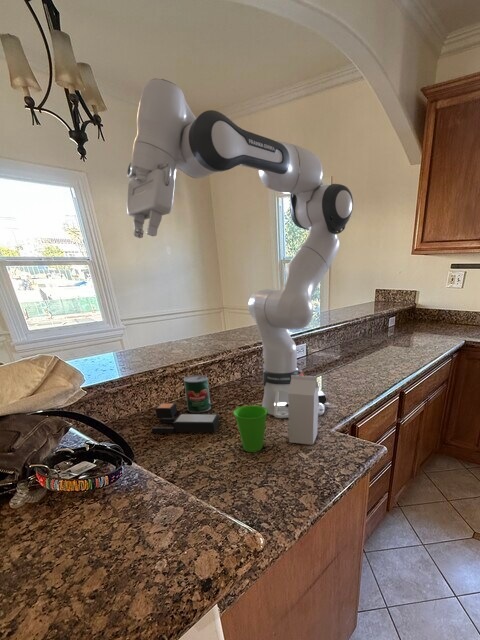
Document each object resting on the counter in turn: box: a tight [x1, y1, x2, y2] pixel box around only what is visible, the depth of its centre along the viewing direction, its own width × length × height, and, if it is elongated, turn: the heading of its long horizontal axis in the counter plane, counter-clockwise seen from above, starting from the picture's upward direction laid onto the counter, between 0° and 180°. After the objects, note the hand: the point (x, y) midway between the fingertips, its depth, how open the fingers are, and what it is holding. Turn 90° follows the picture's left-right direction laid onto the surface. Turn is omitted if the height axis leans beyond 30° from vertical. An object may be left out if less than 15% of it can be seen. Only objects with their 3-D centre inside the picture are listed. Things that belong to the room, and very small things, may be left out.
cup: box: [233, 404, 268, 453], centre depth 96 cm, size 9×9×11 cm
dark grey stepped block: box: [151, 413, 220, 434], centre depth 109 cm, size 18×8×3 cm, turn 90°
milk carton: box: [288, 375, 320, 446], centre depth 99 cm, size 7×7×19 cm
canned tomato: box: [182, 374, 212, 414], centre depth 121 cm, size 8×8×11 cm
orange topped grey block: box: [155, 402, 178, 419], centre depth 118 cm, size 5×5×3 cm
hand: (144, 236), depth 81 cm, fingers open, 8 cm apart
